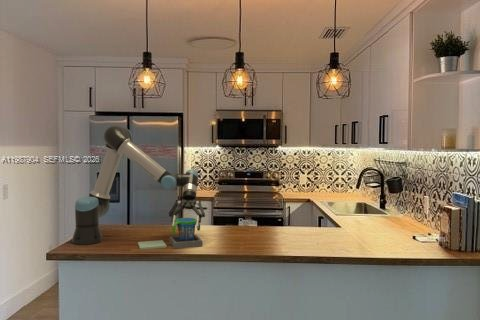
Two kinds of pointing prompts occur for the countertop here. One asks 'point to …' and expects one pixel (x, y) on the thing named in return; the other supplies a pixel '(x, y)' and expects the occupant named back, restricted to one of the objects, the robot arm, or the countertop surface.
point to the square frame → (185, 242)
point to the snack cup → (185, 228)
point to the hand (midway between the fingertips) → (185, 227)
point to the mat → (151, 244)
